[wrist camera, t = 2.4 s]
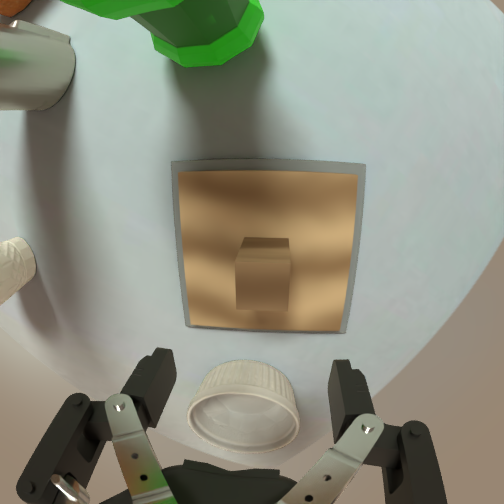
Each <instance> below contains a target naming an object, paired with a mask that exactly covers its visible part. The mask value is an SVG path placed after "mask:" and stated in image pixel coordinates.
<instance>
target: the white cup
mask: <svg viewBox="0 0 504 504" xmlns="http://www.w3.org/2000/svg"><path fill="white" fill-rule="evenodd" d="M35 272H36V263H35V258H34V254H33V252H32V250H31V248H30V246H29V245H28V244H27V243H26V241H25V240H24V239H22V238H20V237H15V238H12V239H10V240H7V241H4V242H0V305H2V304H3V303H4V302H5V301H6V300H8V299H9V298H10V297H11V296H12V295H14V294H15V293H16V292H17V291H18V290H20V289H21V288H22V287H23V285H25V284H26V283H27V282H29V281H30V280H31V279H32V278H33V277H34V275H35Z"/></svg>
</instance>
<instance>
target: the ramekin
mask: <svg viewBox="0 0 504 504" xmlns="http://www.w3.org/2000/svg"><path fill="white" fill-rule="evenodd" d="M187 421H188V424H189V426H190V428H191V429H192V431H193V432H194V433H195V434H196V435H197V436H198V437H200V438H201V439H202V440H204V441H205V442H207V443H209V444H211V445H213V446H215V447H218V448H221V449H224V450H227V451H232V452H238V453H250V454H254V453H265V452H270V451H274V450H277V449H280V448H282V447H284V446H286V445H288V444H289V443H290V442H292V441H293V440H294V439H295V437H296V436H297V434H298V432H299V428H300V417H299V413H298V411H297V409H296V404H295V398H294V393H293V389H292V387H291V384H290V382H289V380H288V379H287V378H286V376H285V375H283V374H282V373H281V372H280V371H278V370H277V369H275V368H274V367H272V366H270V365H268V364H265V363H262V362H258V361H253V360H235V361H230V362H226V363H224V364H221V365H219V366H217V367H215V368H214V369H212V370H211V371H210V372H209V373H208V374H207V375H206V377H205V378H204V380H203V382H202V383H201V385H200V387H199V389H198V391H197V393H196V396H195V397H194V398H193V399H192V400H191V402H190V404H189V408H188V411H187Z"/></svg>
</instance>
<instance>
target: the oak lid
mask: <svg viewBox="0 0 504 504" xmlns="http://www.w3.org/2000/svg"><path fill="white" fill-rule="evenodd" d="M357 184H358V175H356V174H345V173H330V172H311V171H282V170H211V171H182V172H178V186H179V205H180V221H181V235H182V247H183V259H184V269H185V279H186V289H187V298H188V306H189V315H190V322H191V325H202V326H214V327H229V328H245V329H267V330H302V331H340V327H341V321H342V316H343V310H344V304H345V297H346V291H347V284H348V277H349V269H350V261H351V253H352V244H353V235H354V224H355V213H356V200H357Z"/></svg>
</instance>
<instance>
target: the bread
mask: <svg viewBox="0 0 504 504" xmlns="http://www.w3.org/2000/svg"><path fill="white" fill-rule="evenodd" d="M31 1H32V0H0V14H2V15H4V16H8V17H12V16H13V15H15V14H17V13H19V12H20V11H22V10H24V9H25V7H26V6H27V5H28V4H29V3H30V2H31Z"/></svg>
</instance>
